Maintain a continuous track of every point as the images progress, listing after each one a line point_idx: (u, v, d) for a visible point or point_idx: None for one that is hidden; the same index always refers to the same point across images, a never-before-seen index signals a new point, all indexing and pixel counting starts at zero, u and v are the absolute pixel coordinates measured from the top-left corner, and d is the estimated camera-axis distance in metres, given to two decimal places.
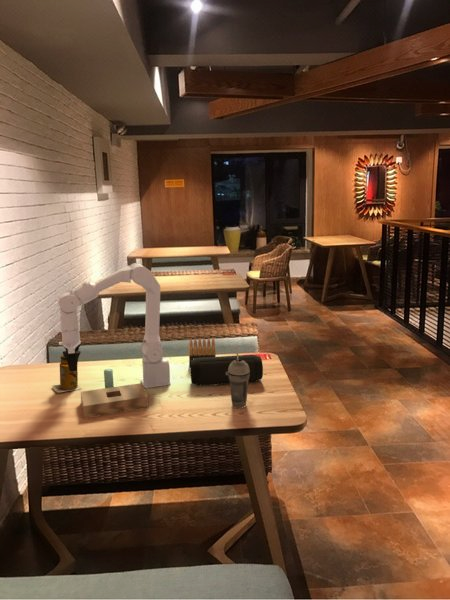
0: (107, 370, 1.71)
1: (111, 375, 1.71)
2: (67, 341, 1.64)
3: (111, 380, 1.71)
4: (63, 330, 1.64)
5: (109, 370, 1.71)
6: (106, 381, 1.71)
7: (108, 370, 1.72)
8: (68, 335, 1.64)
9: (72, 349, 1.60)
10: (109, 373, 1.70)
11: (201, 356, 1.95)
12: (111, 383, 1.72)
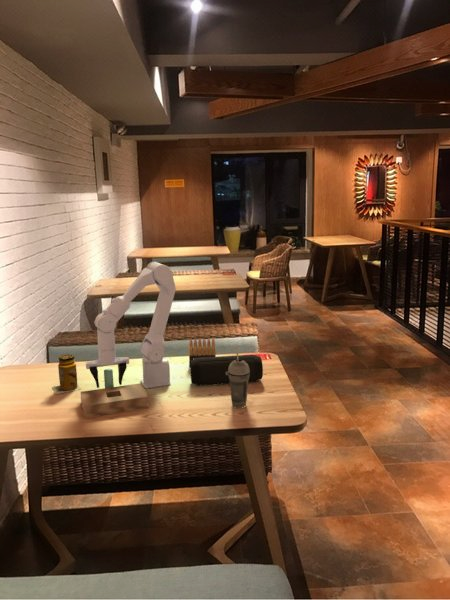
0: (107, 370, 1.71)
1: (111, 375, 1.71)
2: None
3: (111, 380, 1.71)
4: None
5: (109, 370, 1.71)
6: (106, 381, 1.71)
7: (108, 370, 1.72)
8: (98, 352, 1.70)
9: (86, 365, 1.68)
10: (109, 373, 1.70)
11: (201, 356, 1.95)
12: (111, 383, 1.72)
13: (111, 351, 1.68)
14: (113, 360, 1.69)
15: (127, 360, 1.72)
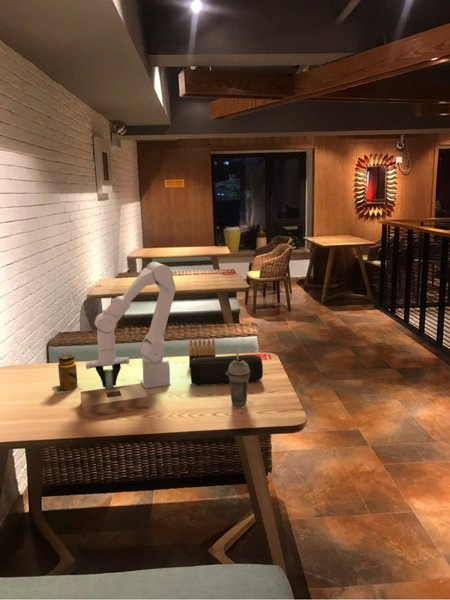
0: (107, 370, 1.71)
1: (111, 375, 1.71)
2: None
3: (111, 380, 1.71)
4: None
5: (109, 370, 1.71)
6: (106, 381, 1.71)
7: (108, 370, 1.72)
8: (98, 352, 1.70)
9: (86, 365, 1.68)
10: (109, 373, 1.70)
11: (201, 356, 1.95)
12: (111, 383, 1.72)
13: (111, 351, 1.68)
14: (113, 360, 1.69)
15: (127, 360, 1.72)
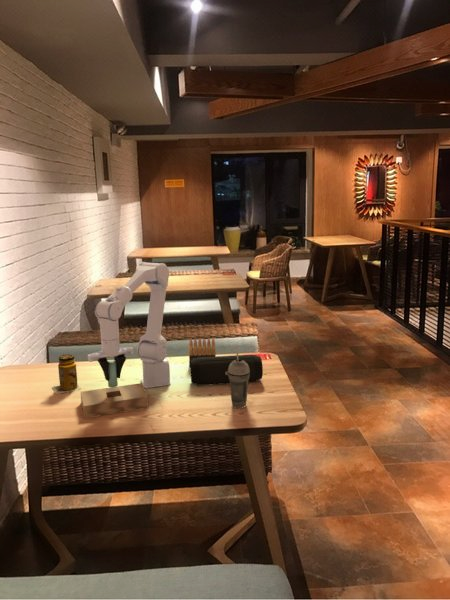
0: (110, 362, 1.59)
1: (115, 367, 1.59)
2: None
3: (115, 372, 1.59)
4: None
5: (112, 362, 1.59)
6: (110, 374, 1.59)
7: (111, 361, 1.60)
8: (101, 343, 1.57)
9: (88, 357, 1.54)
10: (113, 364, 1.58)
11: (201, 356, 1.95)
12: (115, 375, 1.59)
13: (116, 341, 1.56)
14: (118, 350, 1.57)
15: (131, 350, 1.61)
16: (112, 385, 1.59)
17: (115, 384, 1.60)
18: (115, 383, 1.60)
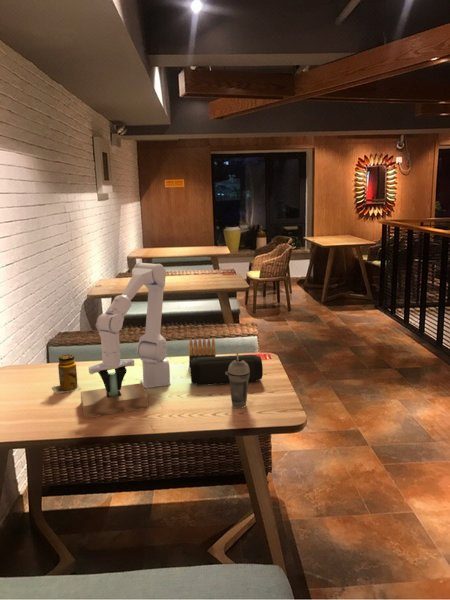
0: (111, 374, 1.60)
1: (116, 379, 1.60)
2: (102, 360, 1.59)
3: (116, 384, 1.60)
4: None
5: (113, 374, 1.60)
6: (111, 386, 1.59)
7: (112, 373, 1.60)
8: (102, 355, 1.58)
9: (89, 369, 1.55)
10: (113, 377, 1.59)
11: (201, 356, 1.95)
12: (116, 387, 1.60)
13: (117, 353, 1.57)
14: (119, 363, 1.58)
15: (132, 362, 1.62)
16: None
17: None
18: (116, 395, 1.61)
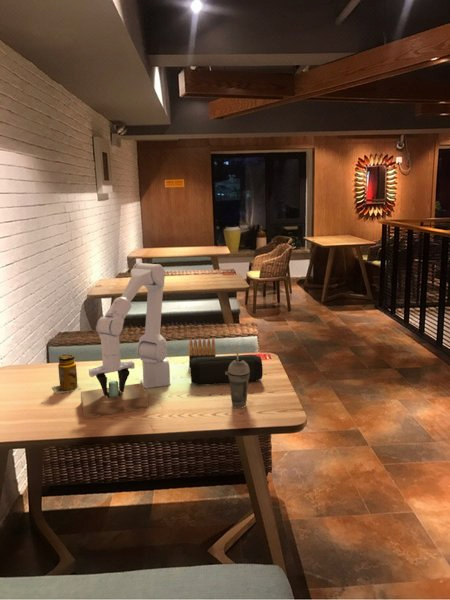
0: (112, 382, 1.60)
1: (117, 387, 1.60)
2: None
3: (117, 393, 1.61)
4: None
5: (114, 382, 1.60)
6: (112, 394, 1.60)
7: (113, 382, 1.61)
8: (102, 358, 1.58)
9: (90, 372, 1.55)
10: (115, 385, 1.59)
11: (201, 356, 1.95)
12: None
13: (117, 356, 1.57)
14: (119, 365, 1.58)
15: (132, 364, 1.62)
16: None
17: None
18: None
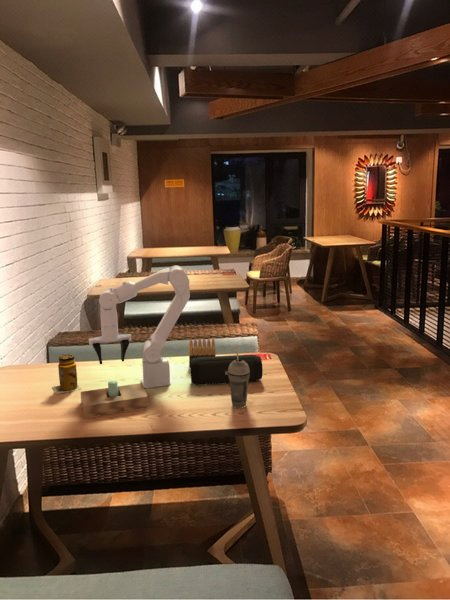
0: (111, 382, 1.60)
1: (116, 387, 1.60)
2: None
3: (116, 392, 1.61)
4: None
5: (114, 382, 1.61)
6: (111, 394, 1.60)
7: (112, 382, 1.61)
8: (101, 329, 1.73)
9: (89, 341, 1.71)
10: (114, 385, 1.60)
11: (201, 356, 1.95)
12: None
13: (114, 327, 1.71)
14: (116, 336, 1.72)
15: (129, 337, 1.75)
16: None
17: None
18: None
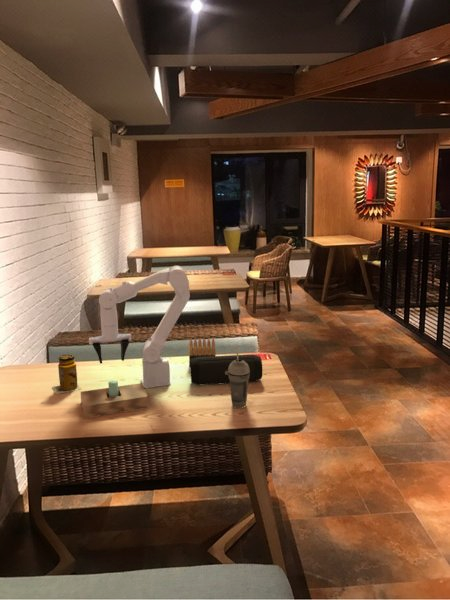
0: (112, 382, 1.61)
1: (117, 387, 1.61)
2: None
3: (117, 392, 1.61)
4: None
5: (114, 382, 1.61)
6: (112, 394, 1.60)
7: (113, 382, 1.61)
8: (101, 328, 1.74)
9: (89, 340, 1.72)
10: (114, 385, 1.60)
11: (201, 356, 1.95)
12: None
13: (114, 327, 1.72)
14: (116, 336, 1.73)
15: (129, 336, 1.76)
16: None
17: None
18: None
